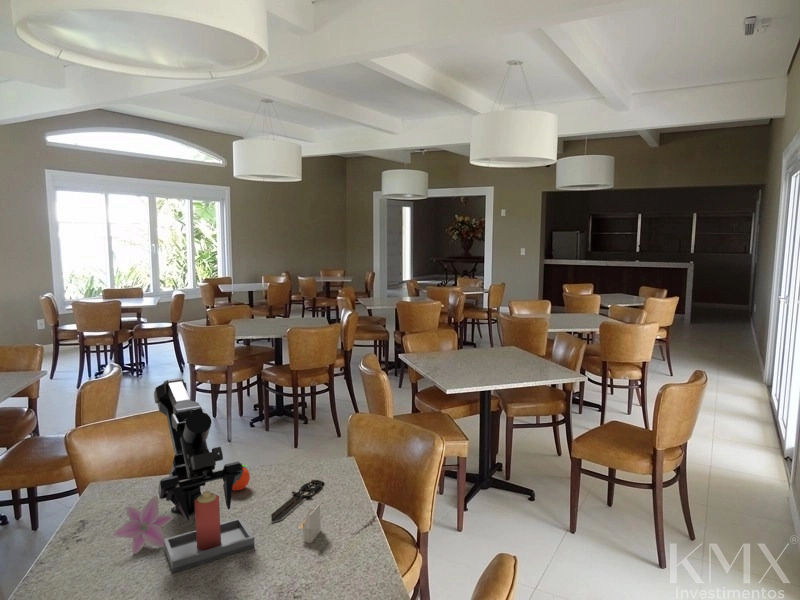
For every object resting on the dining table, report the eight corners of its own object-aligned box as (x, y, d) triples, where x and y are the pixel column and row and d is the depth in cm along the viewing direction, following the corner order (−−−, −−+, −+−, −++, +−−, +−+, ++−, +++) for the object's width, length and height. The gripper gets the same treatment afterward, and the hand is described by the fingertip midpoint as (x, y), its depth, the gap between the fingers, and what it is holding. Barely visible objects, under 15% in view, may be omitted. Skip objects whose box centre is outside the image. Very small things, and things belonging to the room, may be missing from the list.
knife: (275, 527, 138) (275, 522, 138) (255, 521, 141) (255, 516, 140) (330, 486, 160) (330, 482, 160) (312, 482, 163) (312, 477, 163)
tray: (164, 549, 127) (163, 539, 127) (240, 526, 137) (240, 517, 137) (173, 573, 118) (172, 562, 118) (254, 547, 128) (254, 537, 128)
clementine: (246, 480, 164) (245, 458, 163) (258, 488, 159) (257, 465, 158) (221, 489, 158) (220, 465, 157) (232, 497, 153) (231, 473, 152)
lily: (105, 558, 126) (110, 532, 122) (126, 515, 136) (130, 490, 132) (158, 567, 128) (164, 542, 124) (174, 525, 139) (181, 500, 134)
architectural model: (297, 542, 131) (296, 513, 130) (310, 528, 137) (309, 500, 136) (310, 545, 130) (310, 515, 129) (322, 530, 136) (322, 501, 135)
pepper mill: (191, 546, 127) (188, 493, 125) (209, 535, 131) (207, 484, 130) (208, 552, 124) (205, 498, 123) (226, 541, 129) (223, 488, 127)
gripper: (157, 445, 123) (168, 512, 115) (239, 429, 133) (255, 489, 125) (153, 466, 131) (164, 530, 123) (232, 450, 141) (246, 508, 133)
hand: (209, 514), depth 125 cm, fingers open, 9 cm apart
